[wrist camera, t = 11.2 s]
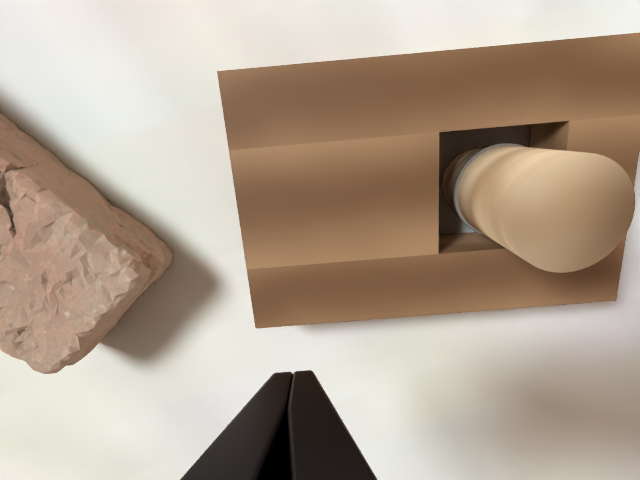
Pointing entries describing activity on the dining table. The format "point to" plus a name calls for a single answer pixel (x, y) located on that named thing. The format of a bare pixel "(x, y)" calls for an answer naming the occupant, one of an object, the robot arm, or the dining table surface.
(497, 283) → the seat board
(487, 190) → the peg
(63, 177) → the brick
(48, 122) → the dining table surface
